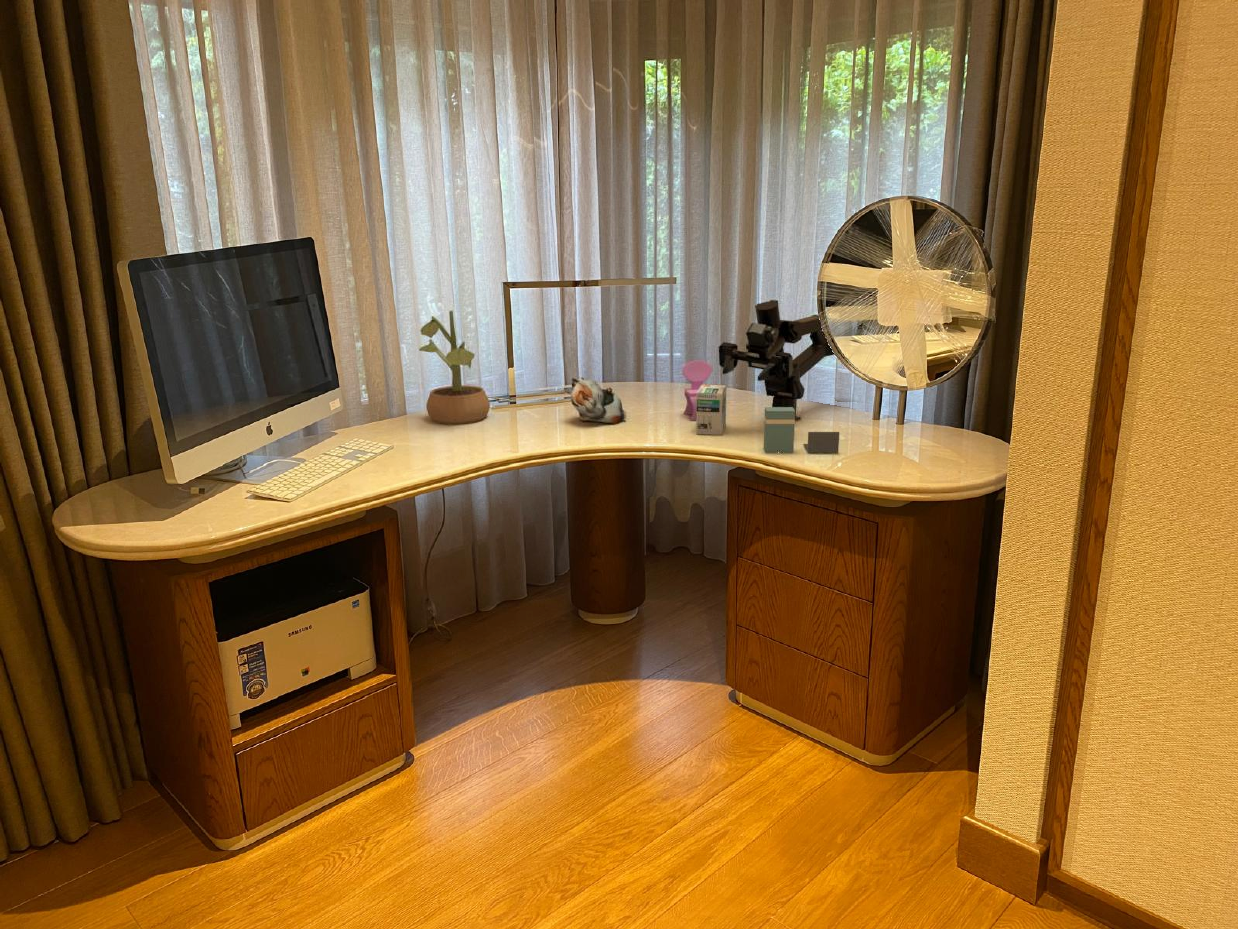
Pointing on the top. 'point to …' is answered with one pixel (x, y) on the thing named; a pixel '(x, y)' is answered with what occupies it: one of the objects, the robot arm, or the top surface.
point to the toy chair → (695, 383)
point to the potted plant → (454, 382)
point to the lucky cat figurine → (596, 402)
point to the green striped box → (779, 429)
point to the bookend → (822, 442)
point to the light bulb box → (711, 410)
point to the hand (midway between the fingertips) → (740, 375)
